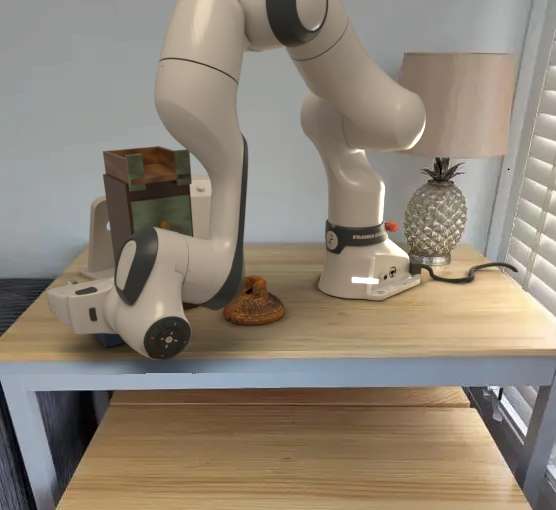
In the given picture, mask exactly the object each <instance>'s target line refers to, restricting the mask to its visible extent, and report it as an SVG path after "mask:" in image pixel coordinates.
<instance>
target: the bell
mask: <svg viewBox="0 0 556 510" xmlns="http://www.w3.org/2000/svg"><path fill="white" fill-rule="evenodd" d="M222 313H223V317H224V318H225V320H226V321H230V322H232V323H234V324H236V325H244V326H261V325H267V324H271V323H275V322H276V321H279V320H280V319H282V317H283V316H284V313H285V305H284V303H283V302H282V300H281V299H280V298H279V297H278V296H277V295H276V294H274V293H271V292H269V291H268V284H267V281H266V279H265V278H264V277H262V276H260V275H248V276H245V282H244V286H243V289H242V291H241V293H240V294H239V295H238V297H237V298H236V299H235V300H234V301H232V302H231V303H230V304H229V305H227V306H225V307H224V308H223V310H222Z"/></svg>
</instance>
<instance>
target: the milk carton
mask: <svg viewBox="0 0 556 510" xmlns="http://www.w3.org/2000/svg"><path fill="white" fill-rule="evenodd" d="M191 180H192V184H190V195H191V209H192V222H193V236H194V237H195V238H199V239H203V240H207V239H208V237H209V230H210V210H211V191H212V188H211V181H210V178H209V175H208V174H197V175H195V174H194V175H191Z"/></svg>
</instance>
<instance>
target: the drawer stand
mask: <svg viewBox="0 0 556 510" xmlns="http://www.w3.org/2000/svg"><path fill="white" fill-rule="evenodd" d="M190 154H191V153H190V152H189V151H188V150H187V149H186V148H184V149H170V148H166V147H164V146H160V145H155V146H146V147H133V148H124V149H123V148H122V149H112V150H111V149H110V150H103V151H102V156H103V163H104V171H105V173H102V178H103V179H102V180H103V185H104V186H103V187H104V193H105V196H106V201H107V209H108V216H109V222H108V224H109V230H110V231H111V238H112V245H113V253H114V260H115V266H116V261H117V258H118V254H119V252H120V249H121V247H122V245H123V244H124V243H125V241H126V240H127V239H128V238H129V237H130V236H131V235H133V234H134V233H135V232H136V231H138V230H139V229H141V228H143V227H145V226H152V227H157V228H161V229H166V230H170V231H174V232H178V233H179V234H183V235H187V236H191V237H194V236H193V222H192V209H191V195H190V184H192V180H191V176H192V169H191V155H190ZM182 305H183V310H184V311H186V310H191V309H194V308H198V307H200V306H197V305H194V304H193V303H187V302H182Z"/></svg>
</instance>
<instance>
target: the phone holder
mask: <svg viewBox="0 0 556 510" xmlns="http://www.w3.org/2000/svg"><path fill="white" fill-rule="evenodd" d="M89 215H90V216H89V236H88V259H87V260H88V261H87V267H86V268H82V269H81V270H80V271H79V272H80V275H81V276H83V277H85V278H87V279H90V280H91V281H93V280H98V279H103V278H109V277H114V274H115V260H114V253H113V245H112V238H111V231H110V229H108V228H107V226H108V224H109V216H108V209H107V201H106V195H102V196H98V197H96V198H94V200H93V201H92V202H91V204H90V214H89Z"/></svg>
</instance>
